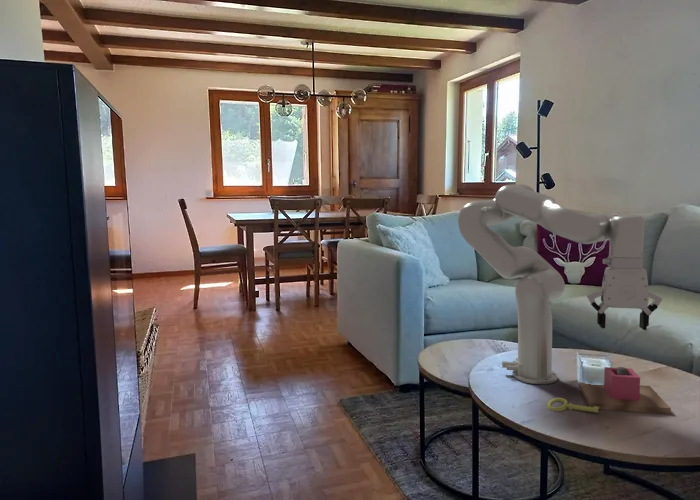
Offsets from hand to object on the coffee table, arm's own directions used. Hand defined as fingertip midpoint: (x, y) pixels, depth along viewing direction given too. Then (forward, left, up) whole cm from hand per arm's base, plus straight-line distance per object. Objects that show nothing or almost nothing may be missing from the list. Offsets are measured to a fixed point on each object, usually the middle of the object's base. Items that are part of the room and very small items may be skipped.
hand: (622, 327), depth 124 cm
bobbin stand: (0, 0, -20) cm, 20 cm away
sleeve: (0, 0, -18) cm, 18 cm away
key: (-14, -8, -20) cm, 26 cm away
